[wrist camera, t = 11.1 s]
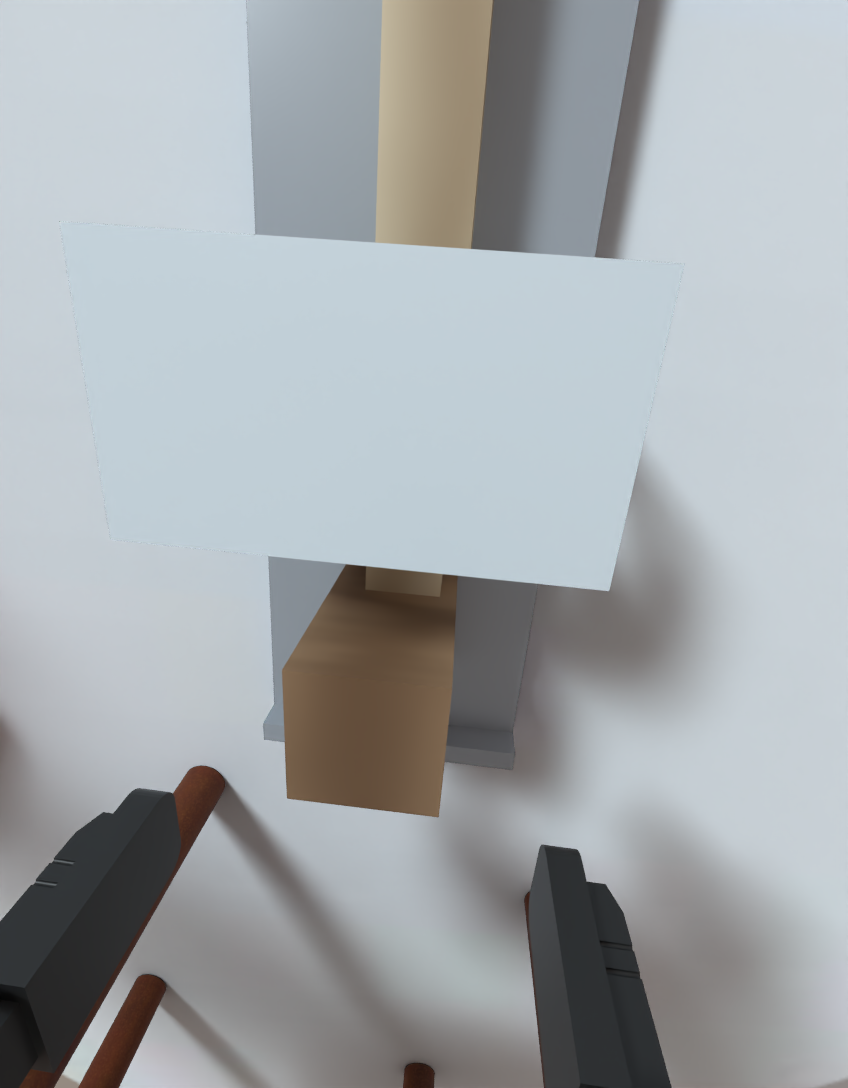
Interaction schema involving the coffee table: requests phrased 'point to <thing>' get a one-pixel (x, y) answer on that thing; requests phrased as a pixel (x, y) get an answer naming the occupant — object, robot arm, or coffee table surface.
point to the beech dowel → (429, 149)
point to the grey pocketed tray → (390, 349)
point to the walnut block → (371, 698)
